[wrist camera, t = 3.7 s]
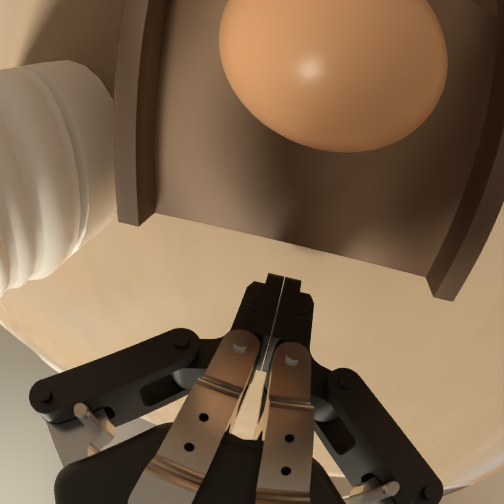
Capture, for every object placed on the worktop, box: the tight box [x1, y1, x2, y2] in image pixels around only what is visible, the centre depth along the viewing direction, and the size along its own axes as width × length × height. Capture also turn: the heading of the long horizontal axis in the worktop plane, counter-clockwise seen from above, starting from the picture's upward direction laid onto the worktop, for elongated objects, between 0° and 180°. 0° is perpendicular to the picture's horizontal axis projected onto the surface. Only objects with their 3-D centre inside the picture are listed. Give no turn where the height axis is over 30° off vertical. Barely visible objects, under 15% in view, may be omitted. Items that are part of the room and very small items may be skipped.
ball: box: [219, 0, 448, 153], centre depth 6 cm, size 6×6×6 cm
